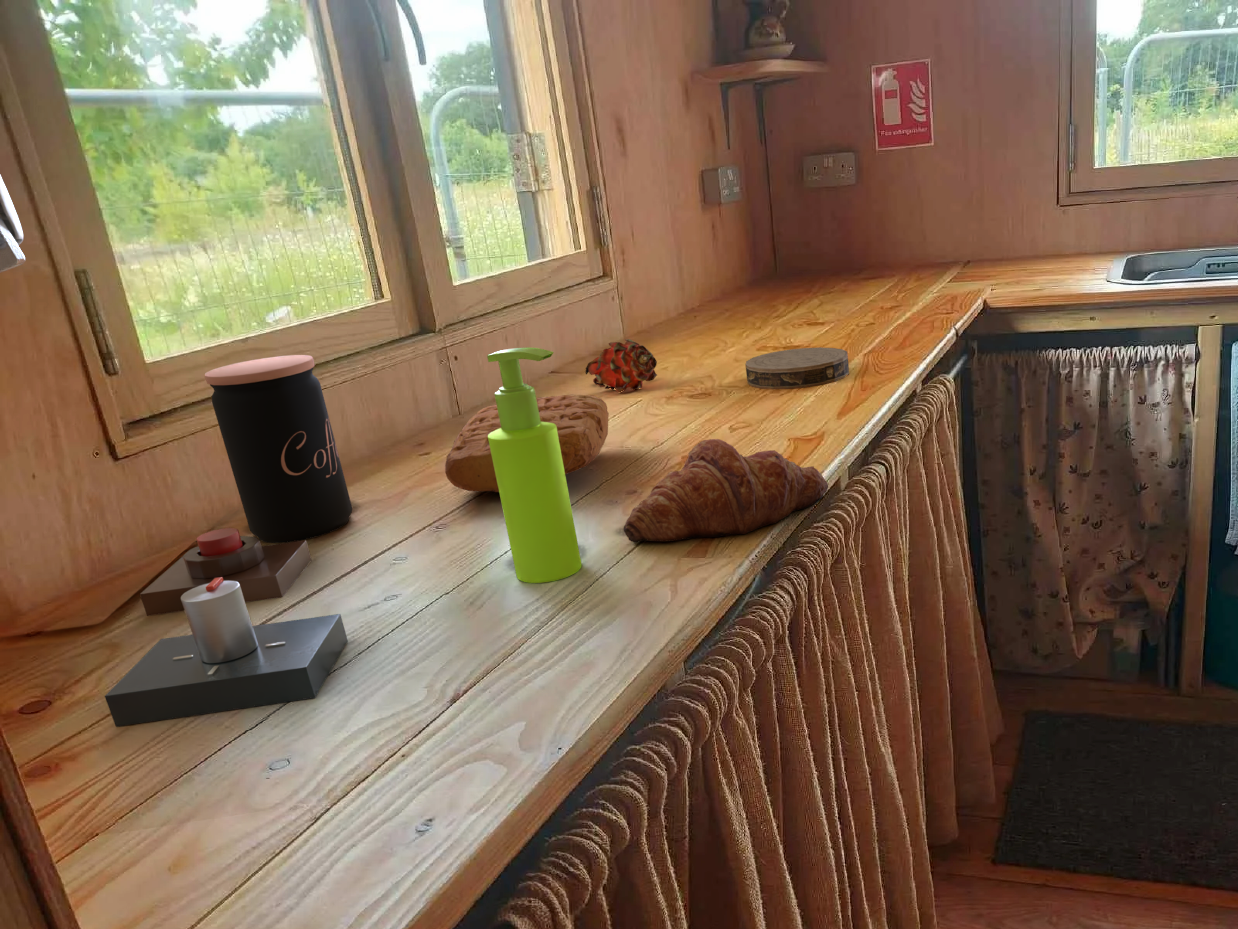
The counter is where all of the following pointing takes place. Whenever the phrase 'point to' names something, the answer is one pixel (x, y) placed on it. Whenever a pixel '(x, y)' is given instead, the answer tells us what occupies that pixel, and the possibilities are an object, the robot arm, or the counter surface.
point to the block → (230, 573)
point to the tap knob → (219, 621)
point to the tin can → (797, 368)
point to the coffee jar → (281, 447)
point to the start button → (219, 541)
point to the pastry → (723, 495)
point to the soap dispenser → (531, 477)
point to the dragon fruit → (623, 366)
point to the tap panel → (229, 673)
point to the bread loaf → (572, 415)
